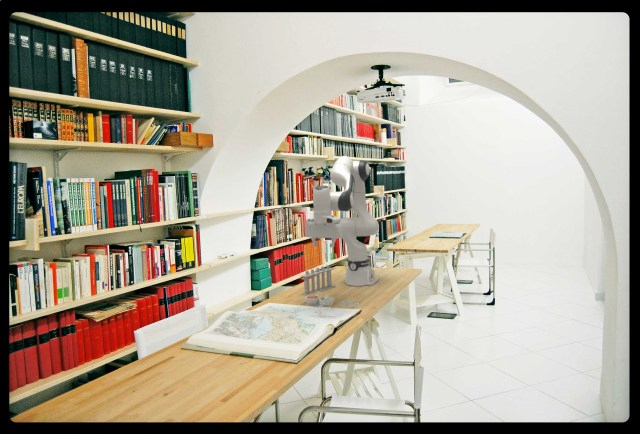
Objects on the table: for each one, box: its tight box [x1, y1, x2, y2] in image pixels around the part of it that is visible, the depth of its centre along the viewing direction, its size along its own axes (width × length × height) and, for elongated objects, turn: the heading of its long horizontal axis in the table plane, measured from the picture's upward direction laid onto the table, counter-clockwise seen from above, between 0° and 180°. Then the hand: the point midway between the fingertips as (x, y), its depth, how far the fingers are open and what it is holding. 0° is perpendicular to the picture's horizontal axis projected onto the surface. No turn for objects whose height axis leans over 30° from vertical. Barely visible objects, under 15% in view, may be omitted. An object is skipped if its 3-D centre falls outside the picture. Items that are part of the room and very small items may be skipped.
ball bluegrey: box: [323, 295, 331, 300], centre depth 239 cm, size 4×4×4 cm
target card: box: [299, 301, 336, 308], centre depth 240 cm, size 10×15×1 cm, turn 57°
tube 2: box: [319, 296, 334, 307], centre depth 239 cm, size 7×7×3 cm
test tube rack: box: [300, 264, 336, 297], centre depth 268 cm, size 25×4×13 cm, turn 140°
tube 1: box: [305, 294, 321, 304], centre depth 244 cm, size 7×7×3 cm
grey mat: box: [337, 300, 361, 307], centre depth 238 cm, size 6×10×1 cm, turn 57°
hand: (323, 246), depth 237 cm, fingers open, 8 cm apart
